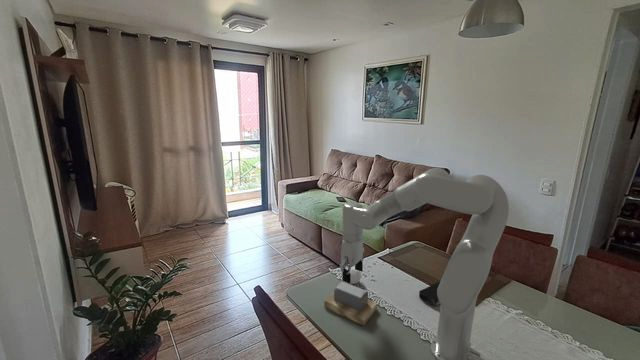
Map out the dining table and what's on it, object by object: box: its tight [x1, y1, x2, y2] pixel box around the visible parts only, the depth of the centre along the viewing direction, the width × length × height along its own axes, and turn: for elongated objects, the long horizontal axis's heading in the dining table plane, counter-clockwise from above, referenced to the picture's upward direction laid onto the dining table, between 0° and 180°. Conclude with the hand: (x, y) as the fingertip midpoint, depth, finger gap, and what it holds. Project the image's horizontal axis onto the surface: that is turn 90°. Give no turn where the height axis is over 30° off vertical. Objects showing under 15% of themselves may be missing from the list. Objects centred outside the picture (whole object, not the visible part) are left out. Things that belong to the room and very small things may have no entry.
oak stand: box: [323, 291, 378, 326], centre depth 116 cm, size 18×11×3 cm, turn 55°
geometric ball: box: [346, 265, 362, 285], centre depth 133 cm, size 8×8×8 cm
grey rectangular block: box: [333, 280, 369, 312], centre depth 115 cm, size 6×12×6 cm, turn 55°
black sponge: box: [418, 280, 441, 306], centre depth 124 cm, size 16×8×4 cm, turn 122°
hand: (352, 275), depth 113 cm, fingers open, 9 cm apart
